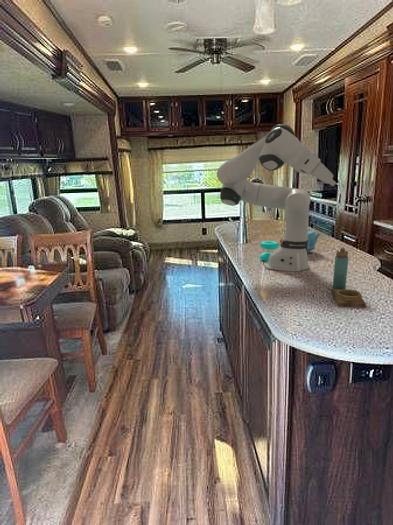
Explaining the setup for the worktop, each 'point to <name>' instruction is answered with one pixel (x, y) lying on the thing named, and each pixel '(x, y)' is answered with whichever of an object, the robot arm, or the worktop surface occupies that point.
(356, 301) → the base
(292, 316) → the worktop surface
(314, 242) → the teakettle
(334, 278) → the pepper mill
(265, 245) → the donuts
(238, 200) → the robot arm
